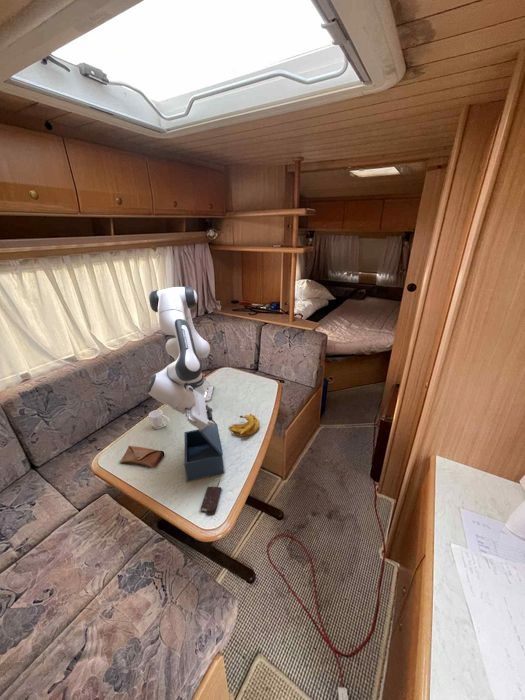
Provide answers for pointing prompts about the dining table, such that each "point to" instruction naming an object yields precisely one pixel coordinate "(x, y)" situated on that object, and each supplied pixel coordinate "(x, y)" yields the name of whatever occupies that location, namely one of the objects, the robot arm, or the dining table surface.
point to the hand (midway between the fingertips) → (212, 417)
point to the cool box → (200, 456)
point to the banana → (246, 426)
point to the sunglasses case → (143, 456)
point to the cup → (157, 418)
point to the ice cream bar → (211, 498)
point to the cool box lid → (212, 434)
